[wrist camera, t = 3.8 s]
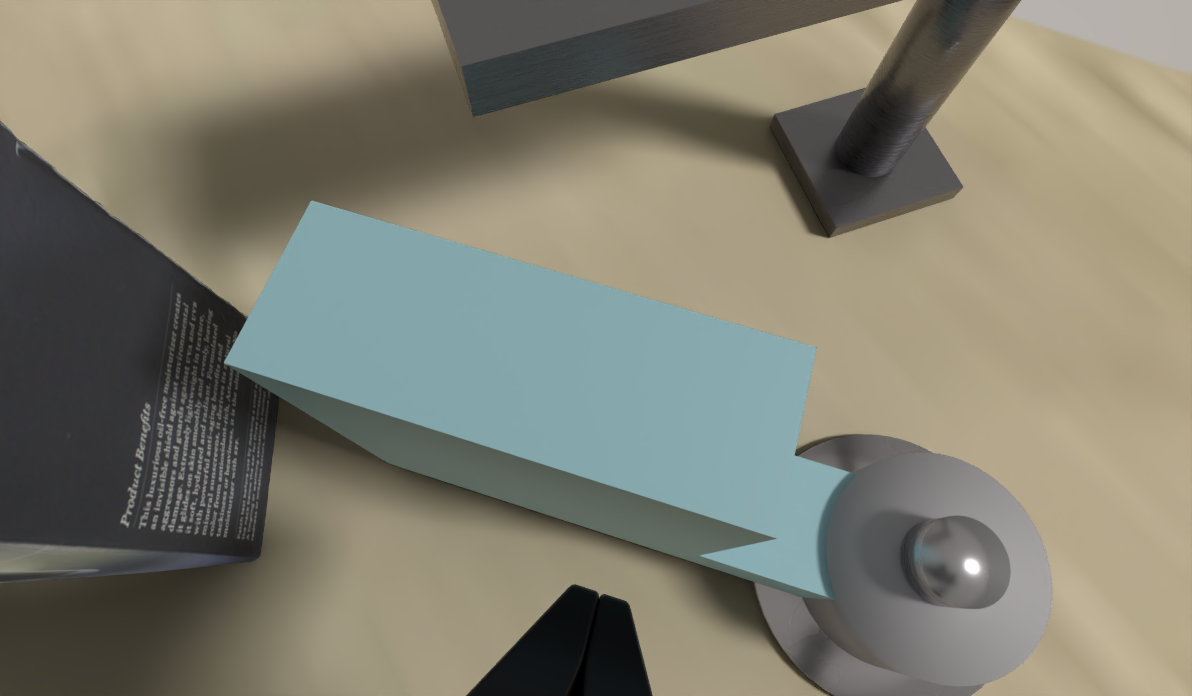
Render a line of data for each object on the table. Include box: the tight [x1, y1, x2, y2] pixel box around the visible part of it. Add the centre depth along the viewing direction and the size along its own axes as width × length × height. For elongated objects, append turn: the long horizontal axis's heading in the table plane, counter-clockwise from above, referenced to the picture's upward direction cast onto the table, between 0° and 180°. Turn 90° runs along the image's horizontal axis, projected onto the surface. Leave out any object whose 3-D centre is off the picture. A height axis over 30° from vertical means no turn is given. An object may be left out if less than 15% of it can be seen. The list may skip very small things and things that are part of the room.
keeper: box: [431, 0, 1021, 237], centre depth 15 cm, size 14×5×11 cm, turn 110°
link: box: [224, 200, 1052, 687], centre depth 13 cm, size 15×5×8 cm, turn 73°
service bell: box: [753, 435, 1011, 696], centre depth 15 cm, size 7×7×4 cm
